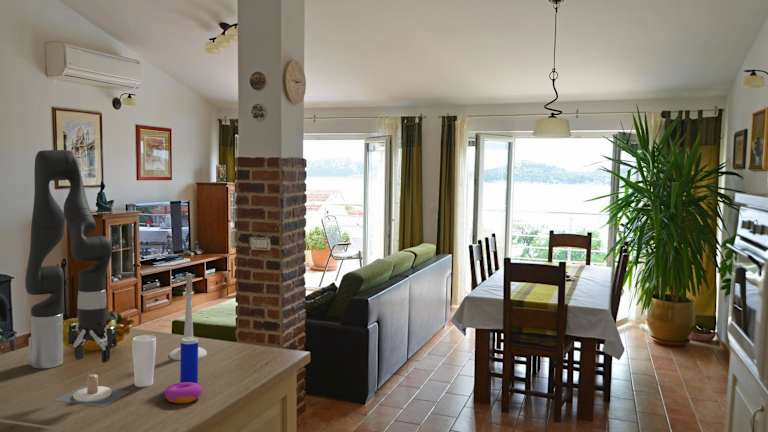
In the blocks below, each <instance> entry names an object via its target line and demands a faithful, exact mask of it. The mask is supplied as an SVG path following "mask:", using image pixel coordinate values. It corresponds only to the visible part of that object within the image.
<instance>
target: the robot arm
mask: <svg viewBox="0 0 768 432" xmlns="http://www.w3.org/2000/svg"><path fill="white" fill-rule="evenodd" d="M34 158H35V159H34V174H33V175H34V197H33V207H32V214H31V227H30V247H29V254H28V261H27V266H26V273H25V279H24V280H25V281H24V282H25V284H24V285H25V290H26V292H27V294H28V295H31V296H38V295H39V296H40V295H49V297H47V298H46V299H45V300H43V301H40V302H38V303H36V304H34V305H32V307H31V308H30V326H31V327H30V329H31V330H30V334H31V336H29V337H28V366H30V367H32V368H34V369H52V368H56V367H59V366H61V365H62V364H63V363H64V325H63V324H64V311H63V310H64V309H63V308H64V307H63V306H64V286H65V274H64V269H63V268H62V267H61V266H60V265H43V263H44V260H45V259H46V258H47V256H48V255H49V254H50V253H51V252H52V251H53V250H54V248H56V246H57V245H58V244H60V242H61V240H62V239H63V237H64V235H65V227H66V224H67V226H68V229H69V233H70V254H71V255H72V257H73V258H74V260H76V261H77V262H80V263H81V262H82V263H86V262H93V261H94V262H93V263H92V265H91V266H89V267H88V268H86V269H85V268H84V269H81V271H79V273H78V276H77V277H78V278H77V281H78V282H77V283H78V289H77V290H78V291H77V322H73V323H71V324H68V333H67V334H68V338H67V344H68V345H72V346H73V348H74V358H75V360H76V361H80V360H81V359H82V360H83V359H84V343H85V342H86V341H92V342H95V343H96V344H97V345H99V346H100V348H101V349H102V350H101V363H102V364H105V363H108V362H109V361H110V359H111V349H112V348H115V347H117V345H118V344H117V341H118V340H117V328H116V326H115V325H113V326H107V325H106V321H107V316H108V315H107V300H108V299H107V291H106V290H107V289H106V288H107V287H106V283H107V282H106V281H107V280H106V277H107V276H106V274H107V271H108V267H109V263H110V260H111V256H112V253H113V244H112V242H111V239H110V238H109V237H107V236H105V235H96V236H94V235H93V236H92V235H91V234H93V233H94V232H95V231H96V229H97V223H96V220H95V218H94V215H93V212H92V210H91V207H90V205H89V202H88V199H87V195H86V189H85V185H84V181H83V176H82V172H81V169H80V164H79V161H78V158H77V156H76V154H75V153H74V152H73V151H72V150H68V149H61V150H60V149H48V150H47V149H45V150H39V151H37V153H36V155H35V157H34ZM51 181H68V182H69V185H70V187H69V191H68V194H67V197H66V199H65V201H64V204H63V209H62V207H61V206H60V205H59V203H58V202H57V201H56V199H55V198H54V196H53V195H52V193H51V189H50V184H51V183H50V182H51ZM89 235H91V236H89ZM42 265H43V266H42Z"/></svg>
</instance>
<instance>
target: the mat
mask: <svg viewBox="0 0 768 432" xmlns="http://www.w3.org/2000/svg"><path fill="white" fill-rule="evenodd" d="M83 388H87V385H81V386H79V387H78V388H75V389H73V390H71V391H70V392H67V393H65V394H63V395H61V396H59V397H58V398H57V397H56V398H55V399H53V401H55V402H63V403H69V404H77V405H82V406H83V405H85V406H92V407H98V408H99V407H100V408H105V407H106V406H108V405H110V404H111V403H113V402H115V401H117V400H118V399H120V398H122V397H124V396H125V395H127V394H129V393H130V391H129V390H128V391H127V390H120V389H111V388H110V389H111V390H112V394H111V396H110V397H108V398H106V399H104V400H101V401H96V402H77V401H75V400H74V399H73V394H74V393H75V392H76V391H78V390H80V389H83Z"/></svg>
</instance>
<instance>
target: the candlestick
mask: <svg viewBox="0 0 768 432" xmlns="http://www.w3.org/2000/svg"><path fill="white" fill-rule="evenodd" d="M185 277H186V278H185V279H186V281H185V282H186V283H185V285H186V286H185V289H186V290H185V291H184V292H183V294H184V295H185V296H184V298H185V300H186V302H185V317H184V330H183V338H184V337H194V324H193V302H192V299H193V298H194V294H195V292H194V291H193V274H192V273H187V274H186V276H185ZM207 355H208V352H207V350H206V349H204V348H203V347H200V346H198V360H199V359H202V358H205V357H206V356H207ZM169 358H170V359H172V360H175V361H180V362H181V346H180V347H178V348H175V349H173V350H172V351H171V352H170V353H169Z"/></svg>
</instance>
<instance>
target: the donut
mask: <svg viewBox="0 0 768 432" xmlns="http://www.w3.org/2000/svg"><path fill="white" fill-rule="evenodd" d="M202 392H203V388H202V386H201V385H200V384H199V383H198V384H197V383H192V382H183V383H180V382H178V383H177V382H176V383H173V384H171V385H169V386H167V387H166V388H165V390H164V396H165V398H166V400H167V401H168V402H171V403H173V404H189V403H192V402H193V401H196V400H197V399H199V397H201V394H202Z"/></svg>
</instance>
